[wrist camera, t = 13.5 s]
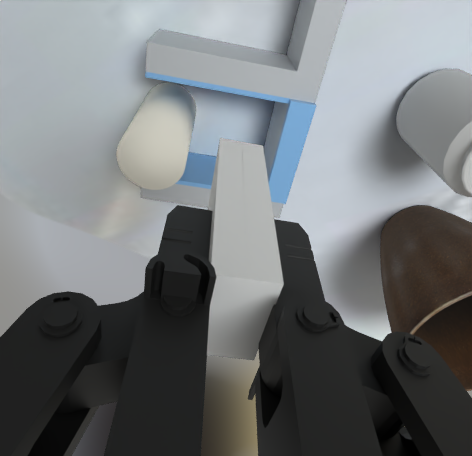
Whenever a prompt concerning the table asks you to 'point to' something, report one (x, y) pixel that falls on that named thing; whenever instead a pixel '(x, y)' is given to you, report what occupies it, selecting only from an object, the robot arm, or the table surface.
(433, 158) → the can
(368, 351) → the robot arm
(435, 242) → the plant pot
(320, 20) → the folding screen
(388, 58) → the table surface
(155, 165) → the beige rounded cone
